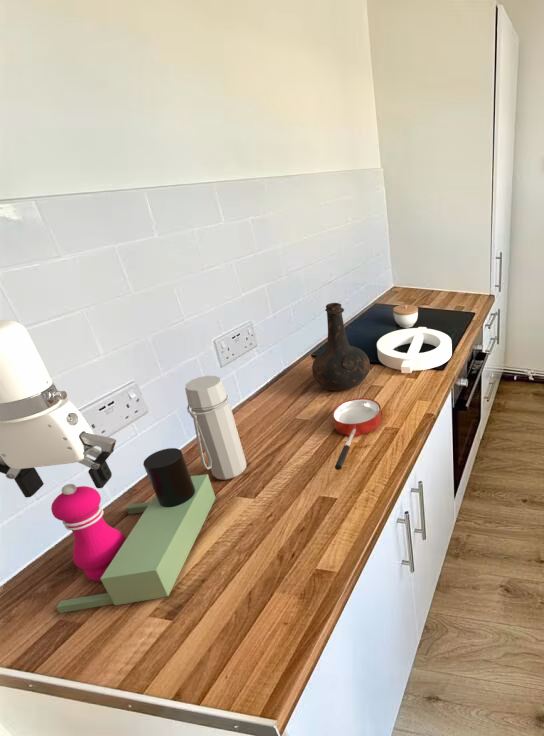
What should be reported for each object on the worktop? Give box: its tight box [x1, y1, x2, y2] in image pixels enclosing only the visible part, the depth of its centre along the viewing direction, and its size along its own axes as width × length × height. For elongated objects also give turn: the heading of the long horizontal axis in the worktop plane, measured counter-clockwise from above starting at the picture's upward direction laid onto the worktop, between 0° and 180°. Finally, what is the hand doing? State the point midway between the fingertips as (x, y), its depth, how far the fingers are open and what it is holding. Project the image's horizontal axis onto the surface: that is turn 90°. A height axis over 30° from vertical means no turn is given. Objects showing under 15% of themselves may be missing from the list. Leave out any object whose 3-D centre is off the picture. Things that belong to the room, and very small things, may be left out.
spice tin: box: [142, 447, 195, 507], centre depth 86 cm, size 6×6×10 cm
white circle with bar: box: [376, 326, 453, 374], centre depth 166 cm, size 28×28×5 cm
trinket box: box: [392, 304, 419, 329], centre depth 190 cm, size 11×11×9 cm
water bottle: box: [184, 375, 247, 481], centre depth 99 cm, size 9×8×25 cm
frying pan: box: [332, 397, 383, 471], centre depth 116 cm, size 32×13×6 cm, turn 14°
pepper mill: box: [50, 483, 127, 582], centre depth 77 cm, size 7×7×20 cm
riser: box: [55, 473, 216, 614], centre depth 83 cm, size 16×24×7 cm, turn 14°
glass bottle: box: [311, 302, 371, 392], centre depth 138 cm, size 18×18×28 cm
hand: (70, 486), depth 73 cm, fingers open, 9 cm apart
